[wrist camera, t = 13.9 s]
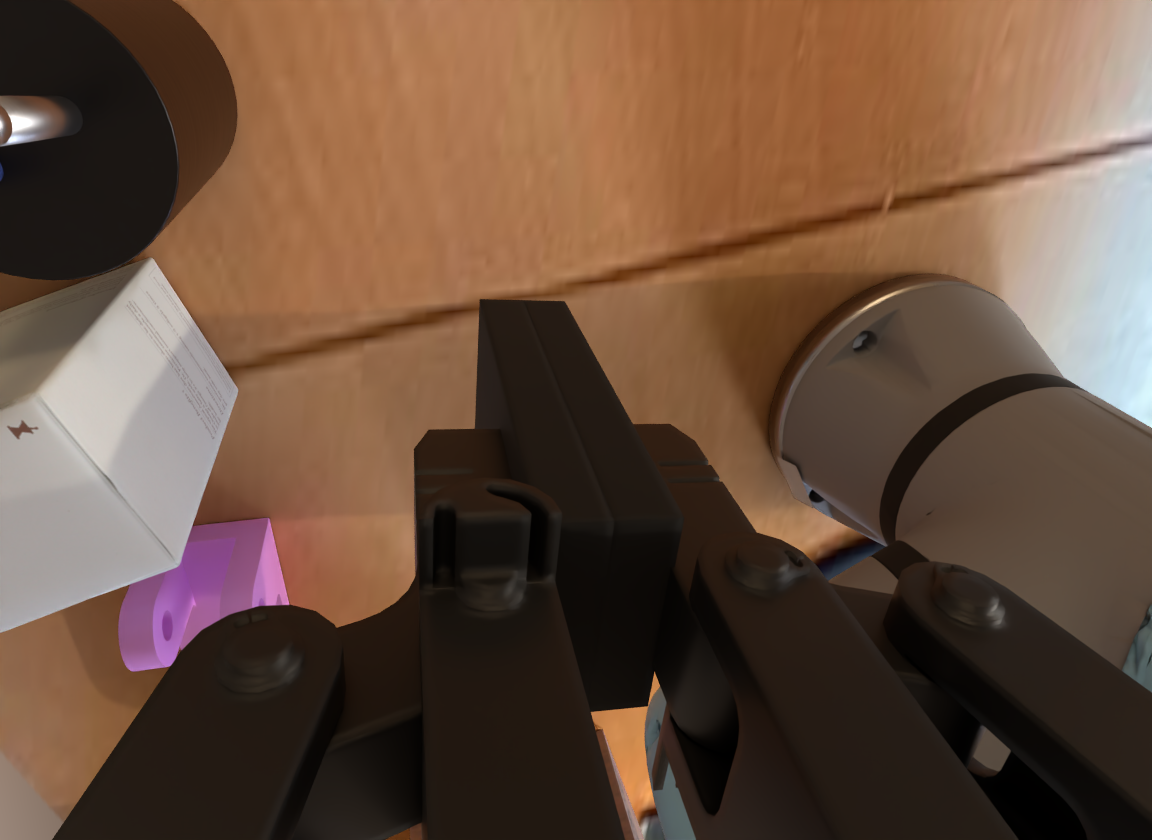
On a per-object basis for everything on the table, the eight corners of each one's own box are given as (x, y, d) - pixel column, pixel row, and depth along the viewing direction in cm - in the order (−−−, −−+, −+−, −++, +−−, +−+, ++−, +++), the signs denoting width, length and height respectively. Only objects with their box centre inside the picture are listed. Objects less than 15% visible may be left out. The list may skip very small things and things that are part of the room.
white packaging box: (-14, 312, 32) (-218, 480, 21) (155, 251, 32) (39, 387, 21) (95, 449, 35) (-30, 649, 25) (245, 394, 36) (185, 569, 25)
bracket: (153, 530, 38) (110, 629, 32) (269, 517, 39) (248, 611, 33) (211, 703, 45) (184, 812, 39) (308, 688, 46) (297, 792, 40)
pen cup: (222, -16, 28) (59, -15, 14) (249, 203, 32) (141, 373, 18) (-28, -40, 26) (-504, -68, 12) (32, 195, 30) (-276, 378, 16)
